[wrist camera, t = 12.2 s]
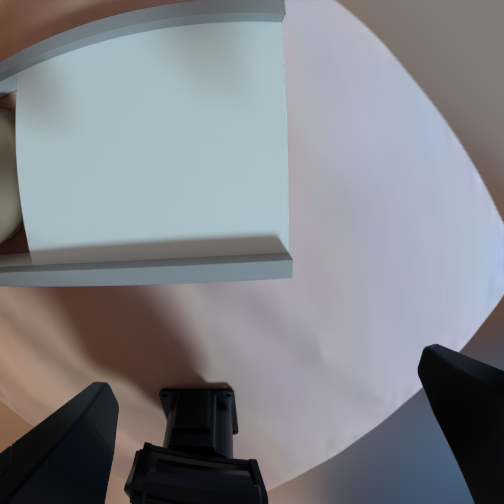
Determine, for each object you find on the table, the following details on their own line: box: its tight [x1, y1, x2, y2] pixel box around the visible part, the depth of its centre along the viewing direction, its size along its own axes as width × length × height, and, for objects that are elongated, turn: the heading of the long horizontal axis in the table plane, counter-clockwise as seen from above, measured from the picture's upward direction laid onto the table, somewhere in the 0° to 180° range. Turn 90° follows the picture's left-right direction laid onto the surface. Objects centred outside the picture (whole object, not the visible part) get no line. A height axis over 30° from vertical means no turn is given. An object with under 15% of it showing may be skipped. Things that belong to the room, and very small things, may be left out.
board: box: [0, 0, 293, 287], centre depth 14 cm, size 15×31×5 cm, turn 92°
